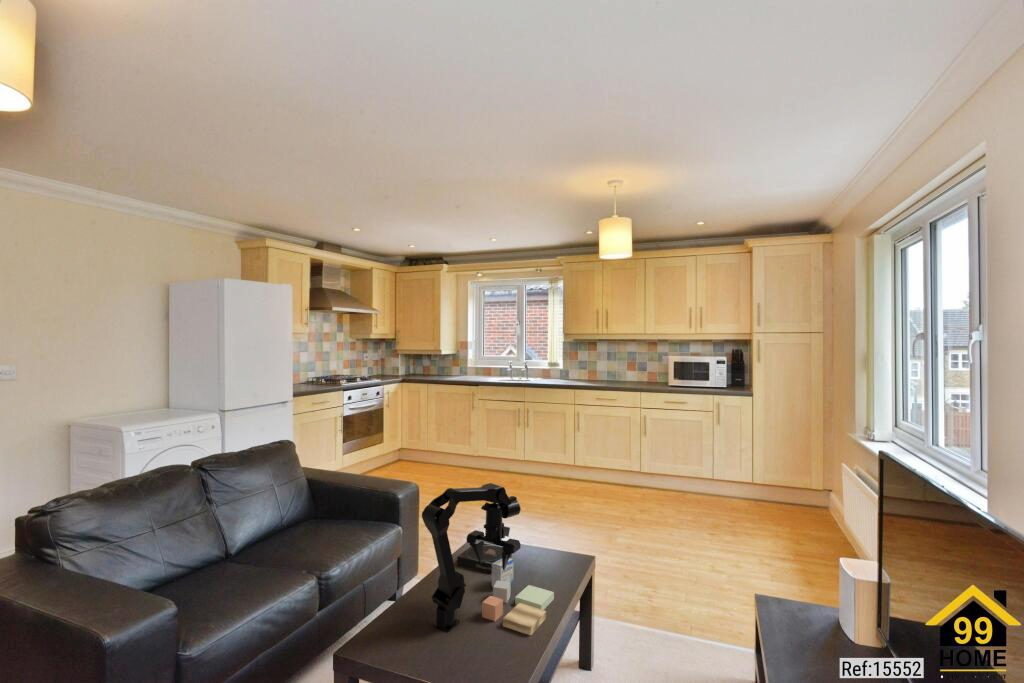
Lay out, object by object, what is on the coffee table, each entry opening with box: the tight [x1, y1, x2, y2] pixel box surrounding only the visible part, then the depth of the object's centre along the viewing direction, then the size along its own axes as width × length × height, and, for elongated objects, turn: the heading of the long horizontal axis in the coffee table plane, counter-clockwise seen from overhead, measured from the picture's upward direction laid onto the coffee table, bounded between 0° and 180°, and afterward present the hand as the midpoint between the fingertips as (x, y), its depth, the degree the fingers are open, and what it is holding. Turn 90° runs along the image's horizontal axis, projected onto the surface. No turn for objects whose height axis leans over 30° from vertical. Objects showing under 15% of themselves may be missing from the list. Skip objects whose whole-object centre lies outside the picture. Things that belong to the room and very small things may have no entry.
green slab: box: [514, 584, 555, 610], centre depth 176 cm, size 10×10×2 cm
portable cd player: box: [456, 542, 513, 574], centre depth 207 cm, size 16×17×4 cm
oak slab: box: [502, 603, 547, 636], centre depth 163 cm, size 11×10×2 cm
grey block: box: [492, 580, 512, 604], centre depth 177 cm, size 5×5×5 cm
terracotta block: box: [481, 595, 504, 622], centre depth 166 cm, size 5×5×5 cm
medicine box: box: [491, 557, 515, 587], centre depth 188 cm, size 8×4×9 cm, turn 143°
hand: (492, 566), depth 175 cm, fingers open, 9 cm apart
